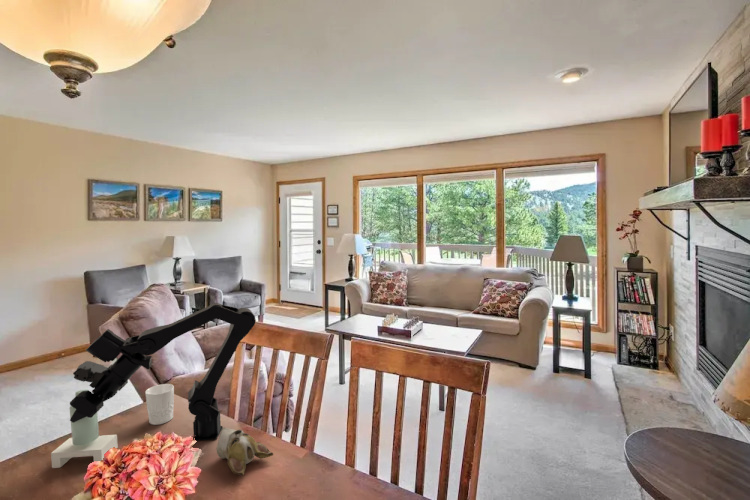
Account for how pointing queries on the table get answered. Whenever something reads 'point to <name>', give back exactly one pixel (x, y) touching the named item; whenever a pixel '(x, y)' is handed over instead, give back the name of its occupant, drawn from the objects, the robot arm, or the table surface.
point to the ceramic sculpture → (239, 449)
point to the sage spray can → (84, 427)
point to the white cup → (160, 403)
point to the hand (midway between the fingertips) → (78, 415)
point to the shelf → (83, 450)
